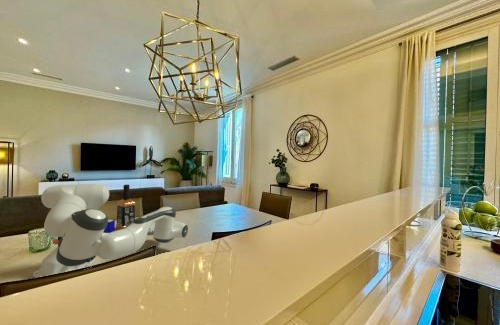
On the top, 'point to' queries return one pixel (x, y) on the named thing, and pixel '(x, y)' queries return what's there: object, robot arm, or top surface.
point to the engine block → (128, 224)
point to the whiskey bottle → (125, 209)
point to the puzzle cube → (110, 226)
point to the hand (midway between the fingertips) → (147, 223)
